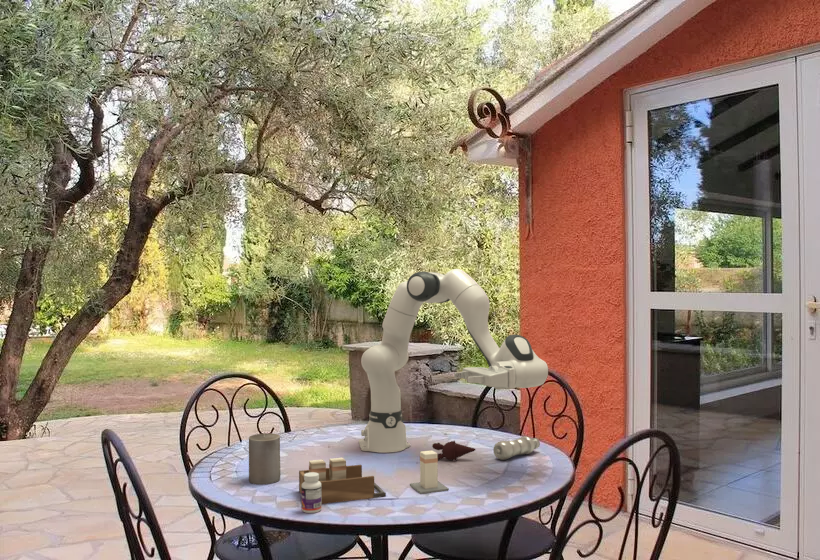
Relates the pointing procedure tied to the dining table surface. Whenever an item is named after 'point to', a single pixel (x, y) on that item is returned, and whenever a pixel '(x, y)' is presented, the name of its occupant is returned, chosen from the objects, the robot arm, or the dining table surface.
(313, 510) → the pill bottle
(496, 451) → the plastic bottle
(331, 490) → the dispenser
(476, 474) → the dining table surface
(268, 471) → the pillar candle
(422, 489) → the pad
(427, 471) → the banded cream pillar
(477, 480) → the dining table surface
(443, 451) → the icecream
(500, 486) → the dining table surface
